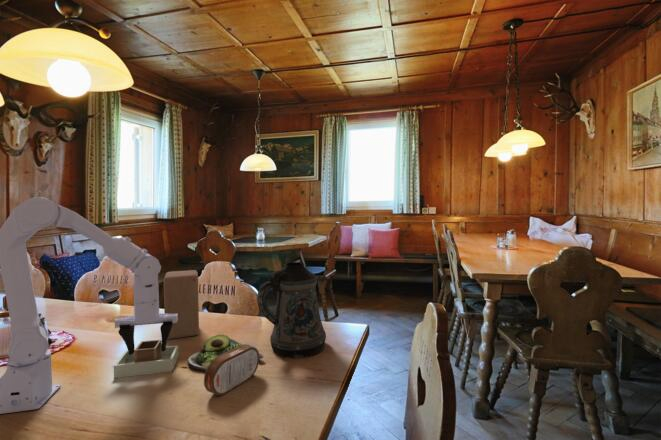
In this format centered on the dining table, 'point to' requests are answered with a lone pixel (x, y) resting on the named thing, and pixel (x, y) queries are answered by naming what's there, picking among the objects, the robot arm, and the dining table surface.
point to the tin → (231, 369)
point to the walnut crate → (148, 351)
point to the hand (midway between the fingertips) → (148, 351)
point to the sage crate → (146, 364)
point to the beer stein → (293, 312)
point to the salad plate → (213, 351)
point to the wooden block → (182, 302)
